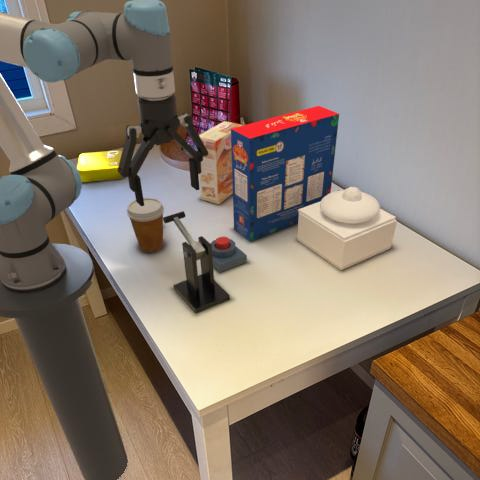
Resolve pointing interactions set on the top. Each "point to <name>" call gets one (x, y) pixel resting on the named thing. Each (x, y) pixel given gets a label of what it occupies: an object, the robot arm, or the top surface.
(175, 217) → the lever
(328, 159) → the blue cereal box
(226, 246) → the button
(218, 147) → the coffeecake box
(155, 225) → the disposable coffee cup
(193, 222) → the top surface
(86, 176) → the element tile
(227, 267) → the button box
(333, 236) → the white domed box
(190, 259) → the bracket
